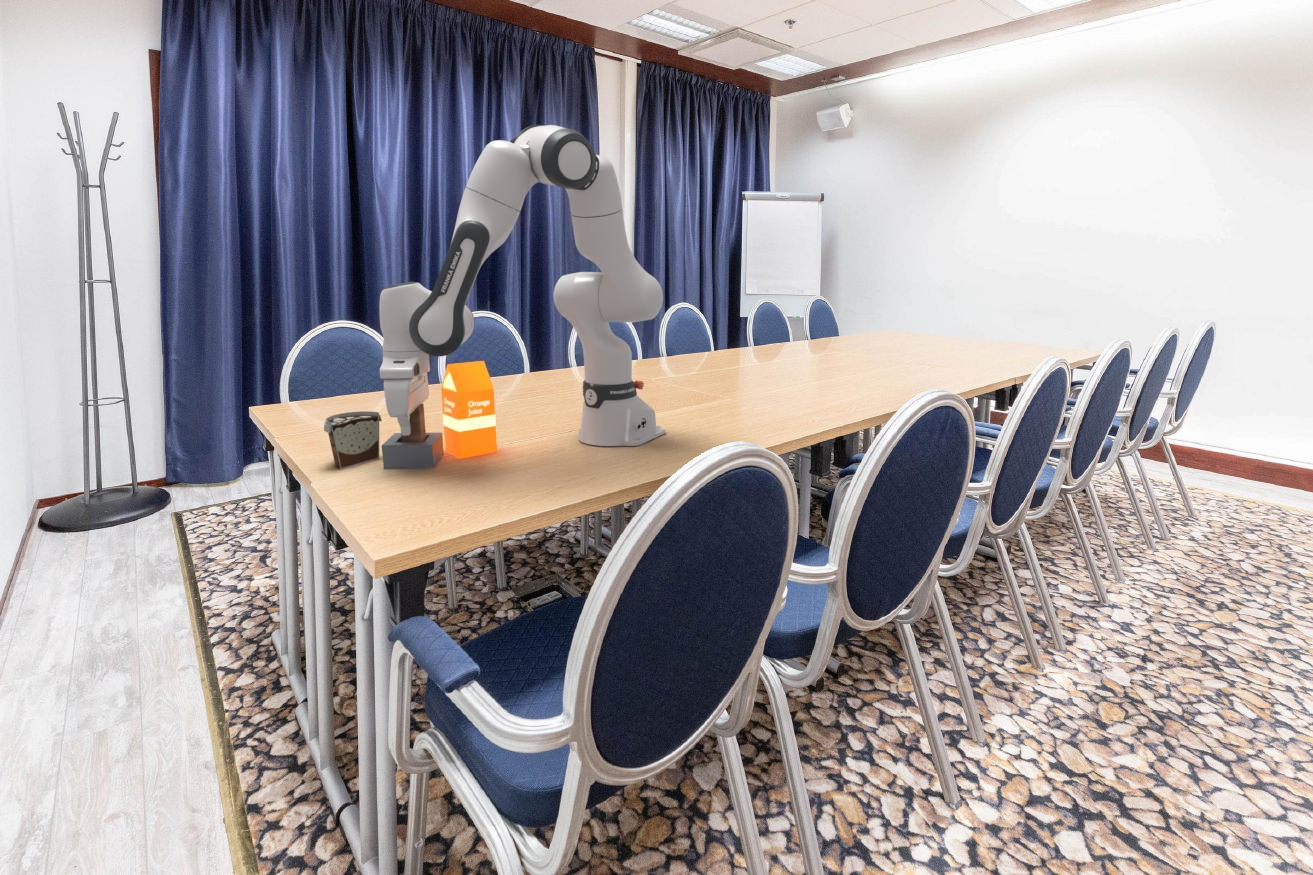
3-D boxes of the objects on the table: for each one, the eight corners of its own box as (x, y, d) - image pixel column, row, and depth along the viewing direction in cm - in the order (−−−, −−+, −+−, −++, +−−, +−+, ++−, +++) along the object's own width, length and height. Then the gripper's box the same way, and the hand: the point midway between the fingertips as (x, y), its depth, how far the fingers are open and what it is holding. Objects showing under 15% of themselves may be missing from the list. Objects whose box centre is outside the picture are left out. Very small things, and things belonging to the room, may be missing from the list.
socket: (396, 455, 151) (394, 433, 150) (443, 454, 152) (442, 432, 150) (383, 468, 141) (381, 445, 140) (433, 468, 142) (432, 444, 141)
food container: (366, 452, 153) (362, 408, 150) (385, 456, 150) (381, 411, 147) (315, 466, 142) (309, 419, 140) (334, 471, 139) (328, 423, 137)
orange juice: (445, 451, 154) (438, 362, 149) (481, 444, 160) (476, 358, 155) (460, 458, 149) (455, 366, 144) (497, 451, 154) (493, 362, 149)
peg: (403, 464, 144) (398, 408, 141) (408, 458, 148) (404, 404, 145) (423, 464, 145) (418, 408, 142) (427, 458, 149) (423, 404, 146)
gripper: (404, 356, 151) (409, 417, 154) (376, 371, 131) (383, 441, 135) (433, 356, 151) (438, 417, 155) (410, 371, 132) (416, 441, 135)
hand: (412, 429), depth 145 cm, fingers open, 8 cm apart
